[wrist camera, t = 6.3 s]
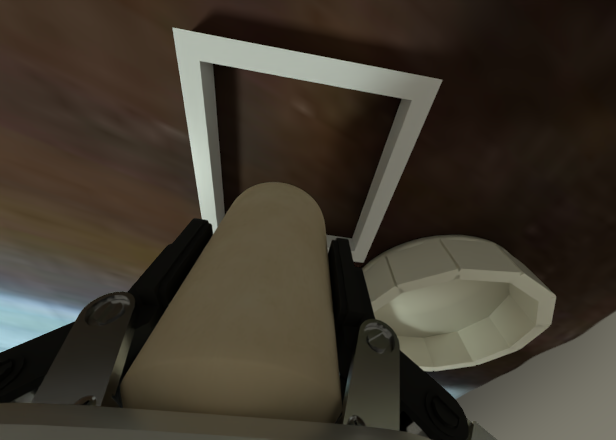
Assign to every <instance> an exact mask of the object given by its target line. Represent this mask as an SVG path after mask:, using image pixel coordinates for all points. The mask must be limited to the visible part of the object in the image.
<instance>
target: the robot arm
mask: <svg viewBox="0 0 616 440" xmlns="http://www.w3.org/2000/svg"><path fill="white" fill-rule="evenodd" d="M212 235H213V229H212V224H211V223H209V222H208V220H204V219H197V218H194V219H193V220H192V221H191V222H190V223H189V224H188V226H187V227H186V228H185V229H184V230H183V232H182V233H181V234H180V235H179V236H178V237H177V239H176V240H175V241H174V242H173V243H172V244H169V245H168V246H167V247H166V248H165V249H164V250H163V251H162V252H161V254H160V255H159V256H158V257H157V258H156V259H155V261H154V262H153V263H152V264H151V265H150V266H149V268H148V269H147V270H146V271H145V272H144V273H143V275H142V276H141V277H140V278H139V279H138V280H137V282H136V283H135V284H134V285H133V286H132V287H131V289H130V290H129V291H128V292H124V291H121V292H112V293H108V294H105V295H103V296H100V297H98V298H96V299H95V300H93V301H91V302H90V303H89V304H88V305H87V306H85V307H84V308H83V310H82V311H81V312H80V314H79V316H78V317H77V319H76V321H75V322H72V323H70V324H68V325H65V326H63V327H60V328H58V329H56V330H53V331H51V332H49V333H46V334H44V335H41V336H39V337H37V338H34V339H32V340H30V341H27V342H25V343H23V344H20V345H18V346H15V347H13V348H11V349H8V350H6V351H4V352H1V353H0V440H497V439H496V438H495V437H493V436H492V435H491V434H490V433H488V432H487V431H486V430H485V429H484V428H483V427H481V426H480V425H479V424H478V423H477V422H476V421H473V422H471V421H469V420H468V419H467V418H466V416H465V414H464V412H463V409H462V408H461V407H460V405H459V404H458V402H457V401H456V400H455V399H454V398H453V397H452V396H451V394H449V393H448V392H447V391H446V390H445V389H444V388H443V387H442V386H440V385H439V384H438V383H437V382H436V381H435V380H434V379H432V378H431V377H430V376H429V375H428V374H427V373H426V372H425V371H423V370H422V369H421V368H420V367H419V366H418V365H417V364H415V363H414V362H413V361H412V360H411V359H410V358H409V357H407V356H406V355H405V354H404V353H403V352H402V351H401V350H400V345H399V339H398V337H397V335H396V333H395V332H394V331H393V329H392V328H391V327H390V326H389V325H387V324H386V323H384V322H383V321H381V320H377V319H375V316H374V312H373V308H372V304H371V300H370V297H369V293H368V289H367V285H366V281H365V277H364V274H363V270H362V268H360V267H354V262H353V258H352V253H351V249H350V244H349V240H348V239H345V238H336V240H332V241H331V244H330V248H329V252H328V260H329V270H330V281H331V291H332V302H333V313H334V323H335V334H336V345H337V355H338V366H339V377H340V387H341V399H342V411H341V413H340V416H339V417H338V419H337V421H336V422H335V424H334V423H321V422H308V421H295V420H283V419H270V418H256V417H243V416H229V415H216V414H202V413H188V412H174V411H160V410H145V409H131V408H123V405H122V399H121V393H120V384H121V382H122V380H123V378H124V376H125V375H126V373H127V372H128V370H129V368H130V367H131V365H132V363H133V362H134V360H135V359H136V357H137V355H138V354H139V352H140V351H141V349H142V347H143V346H144V344H145V343H146V341H147V339H148V338H149V336H150V335H151V333H152V331H153V330H154V328H155V327H156V325H157V323H158V322H159V320H160V319H161V317H162V315H163V314H164V312H165V311H166V309H167V307H168V306H169V304H170V303H171V301H172V299H173V298H174V296H175V295H176V293H177V291H178V290H179V288H180V287H181V285H182V283H183V282H184V280H185V279H186V277H187V275H188V274H189V272H190V271H191V269H192V267H193V266H194V264H195V263H196V261H197V259H198V258H199V256H200V255H201V253H202V251H203V250H204V248H205V247H206V245H207V243H208V242H209V240H210V239H211V237H212Z"/></svg>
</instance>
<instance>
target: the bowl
mask: <svg viewBox="0 0 616 440" xmlns="http://www.w3.org/2000/svg"><path fill="white" fill-rule="evenodd" d="M362 270H363V274H364V277H365V281H366V285H367V289H368V293H369V297H370V300H371V304H372V308H373V312H374V316H375V319H377V320H381V321H383V322H384V323H386V324H387V325H389V326H390V327H391V328H392V329H393V331H394V332H395V333H396V335H397V337H398V339H399V345H400V350H401V351H402V352H403V353H404V354H405V355H406V356H407V357H409V358H410V359H411V360H412V361H413V362H414V363H415V364H417V365H418V366H419V367H420V368H421V369H422V370H423V371H433V370H434V371H441V370H448V369H455V368H462V367H470V366H476V364H477V365H480V364H482V363H485V362H488V361H491V360H493V359H496V358H499V357H501V356H504V355H507V354H510V353H512V352H515V351H518V349H521V348H523V347H524V346H525V345H526V344H528V343H529V342H530V341H532V340H533V339H534V338H535V337H537V336H538V335H539V334H540V333H542V332H543V331H544V330H546V329H547V328H548V327H549V326H550V325H551V322H552V317H553V312H554V306H555V301H556V295H555V294H554V293H553V292H552V291H551V290H550V289H549V288H548V287H547V286H546V285H544V284H543V283H542V282H541V281H540V280H539V279H538V278H537V277H536V276H535V275H534V274H533V273H532V272H531V271H530V270H529V269H528V268H527V267H526V266H525V265H524V264H523V263H521V262H520V261H519V260H517V259H516V258H514V257H513V256H512V255H511V254H510V253H509V252H507V251H506V250H505V249H504V248H503V247H501V246H499V245H498V244H496V243H494V242H491V241H489V240H486V239H483V238H479V237H475V236H467V235H438V236H431V237H425V238H420V239H416V240H413V241H409V242H406V243H403V244H400V245H398V246H395V247H393V248H391V249H389V250H387V251H385V252H383V253H381V254H380V255H378V256H376V257H375V258H373V259H372V260H371V261H369V262H368V263H367V264H366V265H365V266H364V267H363V268H362Z"/></svg>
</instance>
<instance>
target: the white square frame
mask: <svg viewBox="0 0 616 440" xmlns="http://www.w3.org/2000/svg"><path fill="white" fill-rule="evenodd" d="M173 34H174V41H175V47H176V54H177V60H178V67H179V73H180V80H181V86H182V93H183V99H184V106H185V112H186V119H187V125H188V131H189V138H190V144H191V151H192V157H193V164H194V170H195V177H196V183H197V190H198V196H199V203H200V209H201V216H202V219H204V220H208V222H209V223H211V224H212V229H213V234H214V232H215V231H216V229H217V227H218V226H219V224H220V223H221V221H222V219H223V218H224V216H225V211H224V198H223V185H222V173H221V160H220V148H219V135H218V122H217V110H216V97H215V84H214V72H213V63H214V64H219V65H224V66H230V67H235V68H240V69H246V70H251V71H257V72H262V73H267V74H273V75H278V76H283V77H289V78H294V79H299V80H305V81H310V82H316V83H321V84H326V85H332V86H337V87H342V88H348V89H353V90H359V91H364V92H369V93H375V94H380V95H385V96H391V97H396V98H402V99H401V102H400V105H399V108H398V110H397V113H396V116H395V119H394V122H393V124H392V127H391V130H390V133H389V136H388V139H387V141H386V144H385V147H384V150H383V153H382V155H381V158H380V161H379V164H378V167H377V169H376V172H375V175H374V178H373V181H372V184H371V186H370V189H369V192H368V195H367V198H366V200H365V203H364V206H363V209H362V212H361V214H360V217H359V220H358V223H357V226H356V229H355V231H354V234H353V237H352V238H345V237H338V236H332V235H326V238H327V249H328V252H329V248H330V244H331V241H332V240H336V238H345V239H348V240H349V244H350V249H351V253H352V258H353V261H354V262H361V263H364V261H365V258H366V256H367V254H368V251H369V249H370V247H371V244H372V242H373V240H374V238H375V235H376V233H377V231H378V228H379V226H380V224H381V221H382V219H383V217H384V214H385V212H386V210H387V207H388V205H389V203H390V200H391V198H392V196H393V194H394V191H395V189H396V187H397V184H398V182H399V180H400V177H401V175H402V173H403V170H404V168H405V166H406V163H407V161H408V159H409V157H410V154H411V152H412V150H413V147H414V145H415V143H416V140H417V138H418V136H419V133H420V131H421V129H422V126H423V124H424V122H425V120H426V117H427V115H428V113H429V110H430V108H431V106H432V103H433V101H434V99H435V96H436V94H437V92H438V89H439V87H440V85H441V83H442V80H441V79H436V78H431V77H426V76H421V75H415V74H410V73H405V72H400V71H395V70H389V69H384V68H379V67H374V66H369V65H364V64H358V63H353V62H348V61H343V60H338V59H333V58H327V57H322V56H317V55H312V54H307V53H301V52H296V51H291V50H286V49H281V48H276V47H270V46H265V45H260V44H255V43H250V42H245V41H239V40H234V39H229V38H224V37H219V36H213V35H208V34H203V33H198V32H193V31H188V30H182V29H177V28H173Z"/></svg>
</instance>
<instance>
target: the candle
mask: <svg viewBox="0 0 616 440" xmlns="http://www.w3.org/2000/svg"><path fill="white" fill-rule="evenodd" d="M120 393H121V399H122V405H123V408H131V409H145V410H160V411H174V412H188V413H202V414H216V415H229V416H243V417H256V418H270V419H283V420H295V421H308V422H321V423H334V424H335V422H336V421H337V419H338V417H339V416H340V413H341V411H342V399H341V387H340V377H339V366H338V355H337V345H336V334H335V323H334V313H333V302H332V291H331V281H330V270H329V260H328V249H327V238H326V229H325V222H324V217H323V214H322V212H321V209H320V208H319V206H318V204H317V203H316V202H315V200H314V199H313V198H312V197H311V196H310V195H309V194H307V193H306V192H305V191H303V190H301V189H300V188H297V187H295V186H293V185H289V184H286V183H280V182H267V183H262V184H258V185H255V186H253V187H251V188H249V189H247V190H246V191H244V192H243V193H242V194H241V195H240V196H238V197H237V198H236V200H235V201H234V202H233V204H232V205H231V207H230V208H229V210H228V211H227V213H226V215H225V216H224V218H223V219H222V221H221V223H220V224H219V226H218V227H217V229H216V231H215V232H214V234H213V235H212V237H211V239H210V240H209V242H208V243H207V245H206V247H205V248H204V250H203V251H202V253H201V255H200V256H199V258H198V259H197V261H196V263H195V264H194V266H193V267H192V269H191V271H190V272H189V274H188V275H187V277H186V279H185V280H184V282H183V283H182V285H181V287H180V288H179V290H178V291H177V293H176V295H175V296H174V298H173V299H172V301H171V303H170V304H169V306H168V307H167V309H166V311H165V312H164V314H163V315H162V317H161V319H160V320H159V322H158V323H157V325H156V327H155V328H154V330H153V331H152V333H151V335H150V336H149V338H148V339H147V341H146V343H145V344H144V346H143V347H142V349H141V351H140V352H139V354H138V355H137V357H136V359H135V360H134V362H133V363H132V365H131V367H130V368H129V370H128V372H127V373H126V375H125V376H124V378H123V380H122V382H121V384H120Z"/></svg>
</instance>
